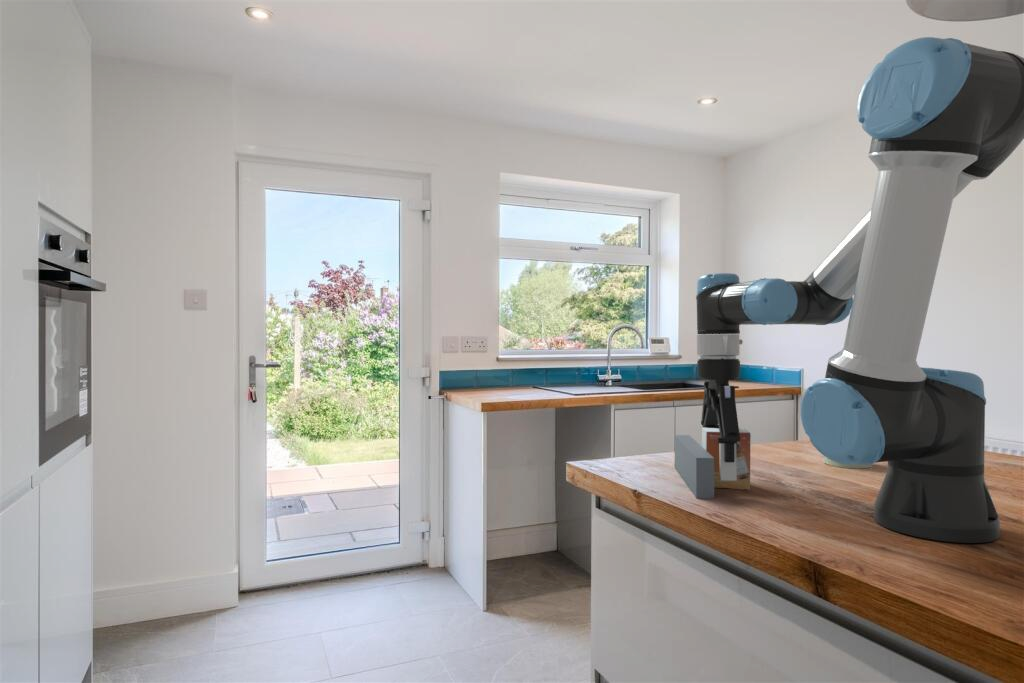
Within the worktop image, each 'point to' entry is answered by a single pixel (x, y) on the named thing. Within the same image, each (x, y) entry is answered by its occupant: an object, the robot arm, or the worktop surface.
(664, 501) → the worktop surface
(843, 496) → the worktop surface
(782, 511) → the worktop surface
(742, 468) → the small box
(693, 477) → the wall
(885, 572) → the worktop surface
